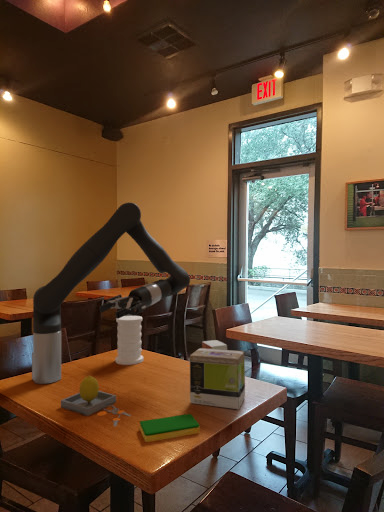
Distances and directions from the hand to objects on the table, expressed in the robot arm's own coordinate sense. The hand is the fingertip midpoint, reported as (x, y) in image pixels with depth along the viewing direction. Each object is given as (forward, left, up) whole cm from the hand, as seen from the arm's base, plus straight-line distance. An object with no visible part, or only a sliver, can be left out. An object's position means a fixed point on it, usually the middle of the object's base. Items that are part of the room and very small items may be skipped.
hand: (107, 312), depth 117 cm
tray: (+2, -9, -26) cm, 28 cm away
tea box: (+33, +14, -26) cm, 44 cm away
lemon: (+2, -9, -26) cm, 27 cm away
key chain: (+13, -10, -26) cm, 31 cm away
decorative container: (-18, +31, -26) cm, 44 cm away
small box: (+23, +30, -26) cm, 46 cm away
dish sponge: (+31, -10, -27) cm, 42 cm away
